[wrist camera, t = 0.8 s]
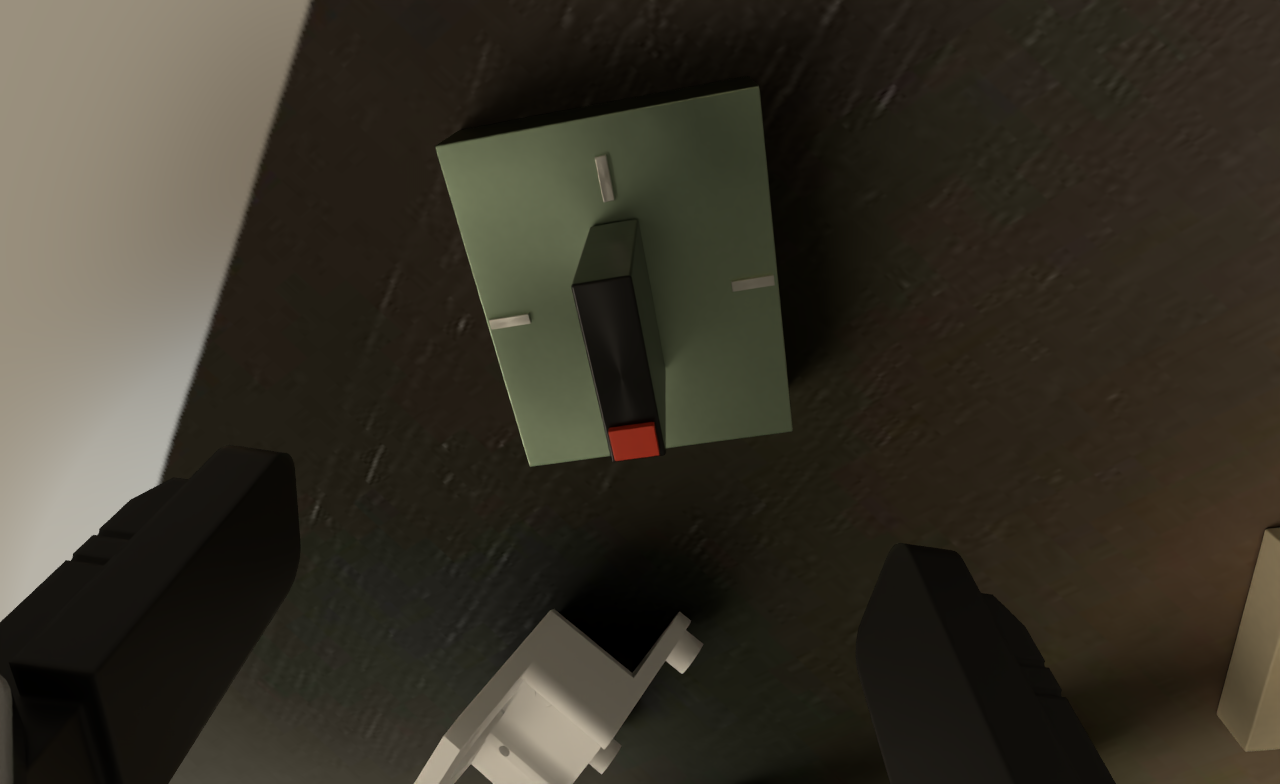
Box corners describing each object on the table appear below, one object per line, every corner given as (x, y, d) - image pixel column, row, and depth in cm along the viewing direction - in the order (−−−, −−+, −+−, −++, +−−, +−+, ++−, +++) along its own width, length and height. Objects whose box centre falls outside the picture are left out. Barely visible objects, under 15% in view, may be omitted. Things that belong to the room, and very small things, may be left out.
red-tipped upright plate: (589, 226, 24) (568, 288, 19) (638, 218, 24) (630, 278, 19) (621, 377, 26) (611, 468, 21) (665, 370, 26) (666, 460, 21)
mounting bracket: (610, 542, 36) (482, 672, 27) (715, 625, 35) (621, 792, 26) (512, 690, 41) (376, 844, 32) (601, 767, 40) (488, 951, 31)
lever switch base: (458, 130, 26) (432, 146, 23) (749, 75, 24) (760, 85, 22) (540, 427, 31) (528, 469, 28) (781, 393, 30) (793, 434, 27)
